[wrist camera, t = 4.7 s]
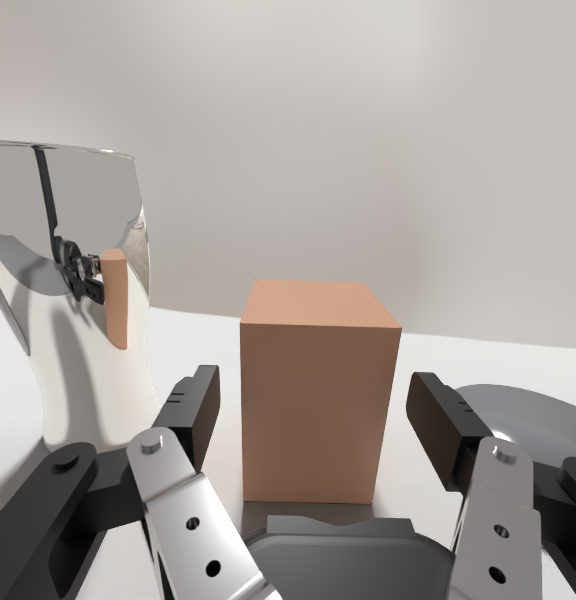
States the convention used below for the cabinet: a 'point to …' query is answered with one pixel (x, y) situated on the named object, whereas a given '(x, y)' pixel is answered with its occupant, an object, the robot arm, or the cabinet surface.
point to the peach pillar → (314, 390)
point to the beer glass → (78, 288)
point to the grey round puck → (526, 420)
